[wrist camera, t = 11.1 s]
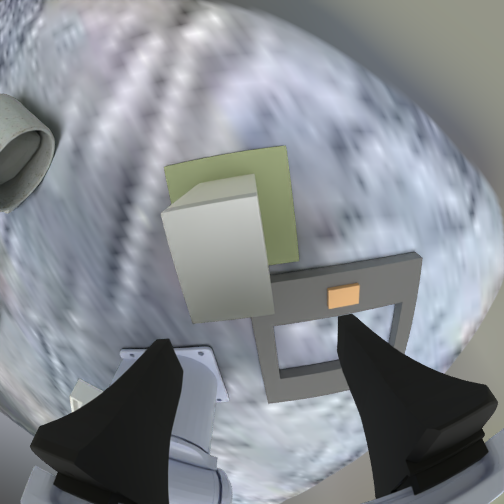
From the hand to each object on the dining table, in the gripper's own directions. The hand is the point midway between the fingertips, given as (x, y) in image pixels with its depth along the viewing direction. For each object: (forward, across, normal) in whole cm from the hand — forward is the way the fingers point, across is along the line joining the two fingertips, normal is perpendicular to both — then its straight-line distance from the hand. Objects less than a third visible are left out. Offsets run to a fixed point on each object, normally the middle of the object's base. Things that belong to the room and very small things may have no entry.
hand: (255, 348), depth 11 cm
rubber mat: (+9, +1, -4) cm, 10 cm away
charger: (+9, +1, -4) cm, 10 cm away
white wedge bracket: (+10, +24, +16) cm, 31 cm away
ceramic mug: (+10, +18, -13) cm, 24 cm away
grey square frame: (+9, -6, +8) cm, 14 cm away
